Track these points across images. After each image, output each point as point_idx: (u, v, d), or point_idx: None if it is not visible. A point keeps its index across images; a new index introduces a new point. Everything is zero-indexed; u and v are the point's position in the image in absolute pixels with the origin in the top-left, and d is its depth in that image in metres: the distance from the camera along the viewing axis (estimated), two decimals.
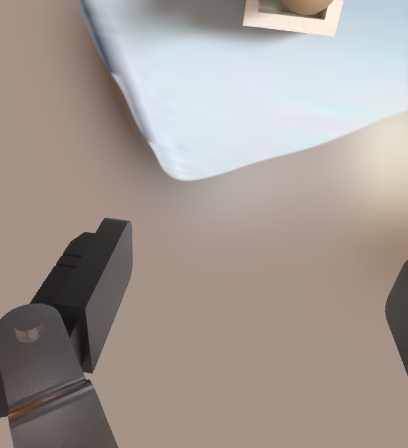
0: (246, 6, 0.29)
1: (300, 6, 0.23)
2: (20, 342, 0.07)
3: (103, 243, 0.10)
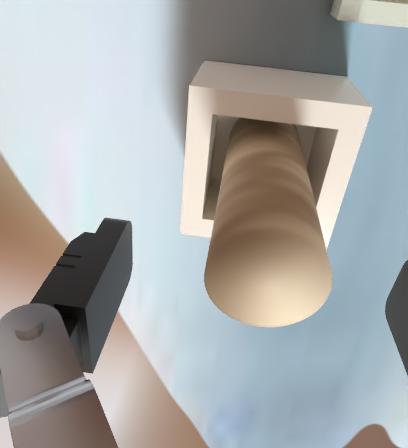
0: (221, 91, 0.15)
1: (219, 269, 0.11)
2: (20, 342, 0.07)
3: (103, 243, 0.10)
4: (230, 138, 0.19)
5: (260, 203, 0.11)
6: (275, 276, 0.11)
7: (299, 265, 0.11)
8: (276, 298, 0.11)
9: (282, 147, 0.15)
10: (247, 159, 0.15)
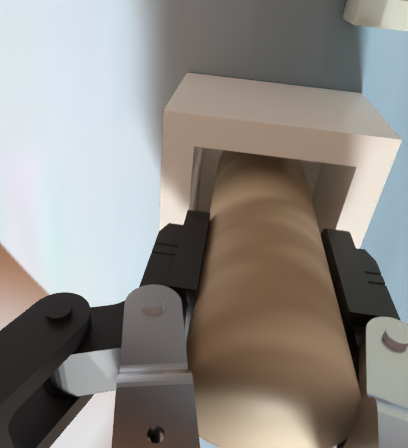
0: (205, 118, 0.12)
1: (197, 392, 0.08)
2: (151, 318, 0.08)
3: (194, 232, 0.11)
4: (219, 169, 0.15)
5: (258, 292, 0.08)
6: (279, 404, 0.08)
7: (315, 392, 0.07)
8: (280, 427, 0.08)
9: (285, 189, 0.12)
10: (239, 208, 0.11)
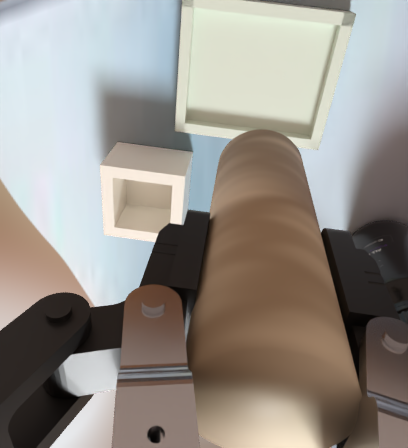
0: (115, 168, 0.32)
1: (196, 391, 0.08)
2: (151, 318, 0.08)
3: (194, 232, 0.11)
4: (219, 167, 0.15)
5: (258, 290, 0.08)
6: (280, 403, 0.07)
7: (315, 390, 0.07)
8: (280, 426, 0.08)
9: (286, 188, 0.12)
10: (239, 206, 0.11)
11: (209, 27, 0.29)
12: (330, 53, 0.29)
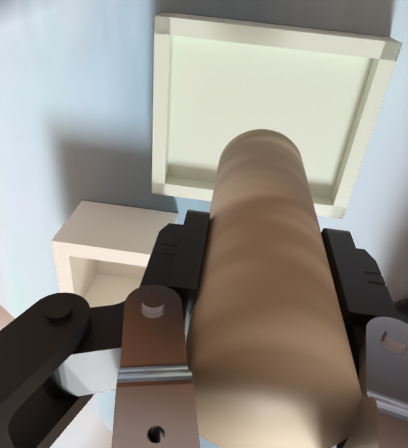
0: (72, 244, 0.24)
1: (197, 391, 0.08)
2: (151, 318, 0.08)
3: (194, 232, 0.11)
4: (219, 167, 0.15)
5: (258, 290, 0.08)
6: (280, 403, 0.07)
7: (316, 391, 0.07)
8: (280, 427, 0.08)
9: (286, 188, 0.12)
10: (239, 206, 0.11)
11: (194, 60, 0.21)
12: (362, 94, 0.21)
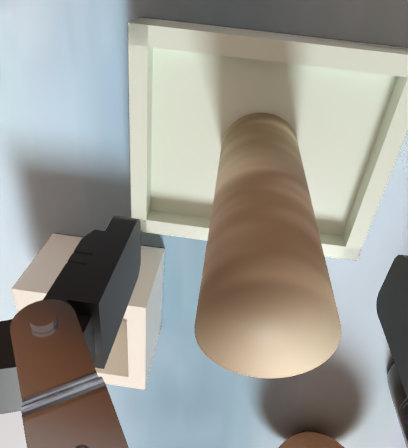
0: (36, 293, 0.20)
1: (210, 321, 0.10)
2: (36, 337, 0.07)
3: (114, 241, 0.10)
4: (223, 147, 0.17)
5: (259, 243, 0.10)
6: (276, 329, 0.10)
7: (303, 319, 0.09)
8: (276, 350, 0.10)
9: (282, 163, 0.14)
10: (242, 180, 0.13)
11: (179, 76, 0.17)
12: (383, 117, 0.17)
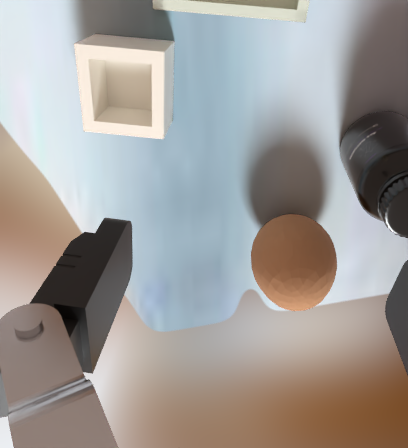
0: (90, 46, 0.30)
1: None
2: (20, 342, 0.07)
3: (103, 243, 0.10)
4: None
5: None
6: None
7: None
8: None
9: None
10: None
11: None
12: None
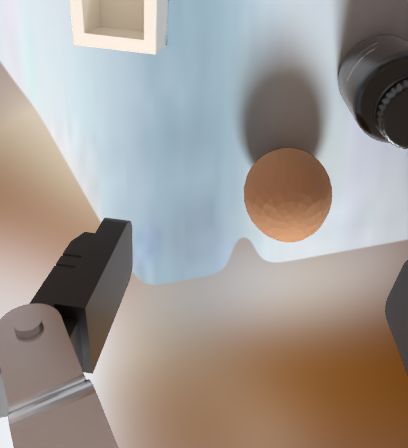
0: None
1: None
2: (20, 342, 0.07)
3: (103, 243, 0.10)
4: None
5: None
6: None
7: None
8: None
9: None
10: None
11: None
12: None
